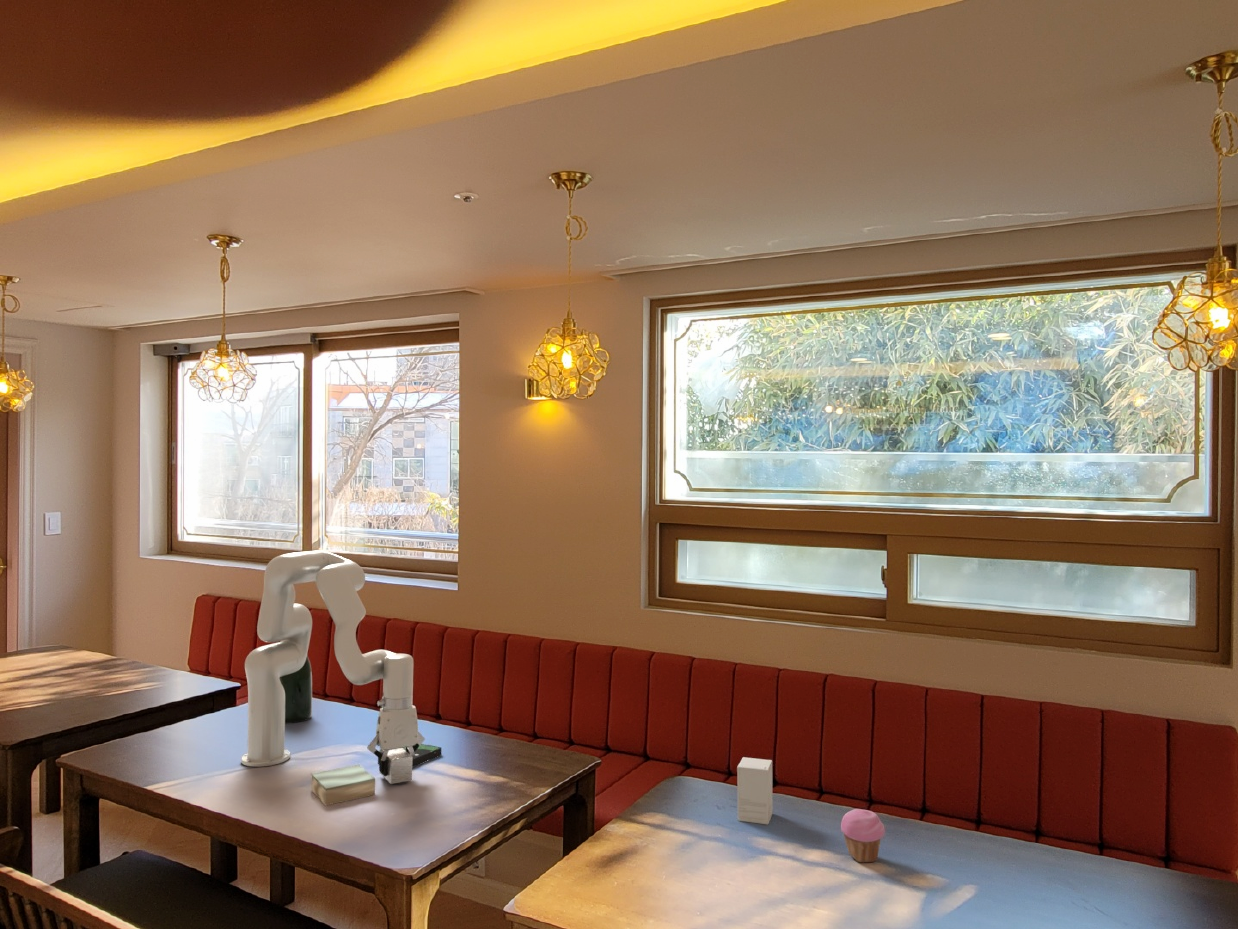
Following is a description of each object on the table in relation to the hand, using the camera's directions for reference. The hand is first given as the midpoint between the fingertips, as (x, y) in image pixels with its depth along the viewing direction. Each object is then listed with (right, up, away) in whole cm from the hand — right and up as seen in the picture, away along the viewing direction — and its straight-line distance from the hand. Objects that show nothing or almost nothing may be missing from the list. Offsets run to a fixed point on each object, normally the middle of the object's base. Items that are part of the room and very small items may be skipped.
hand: (395, 771), depth 214 cm
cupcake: (+109, -3, -42) cm, 117 cm away
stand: (-11, -2, -8) cm, 14 cm away
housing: (0, -1, 0) cm, 1 cm away
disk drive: (0, -3, +16) cm, 16 cm away
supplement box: (+90, -3, -21) cm, 93 cm away
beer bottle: (-48, -3, +54) cm, 72 cm away
